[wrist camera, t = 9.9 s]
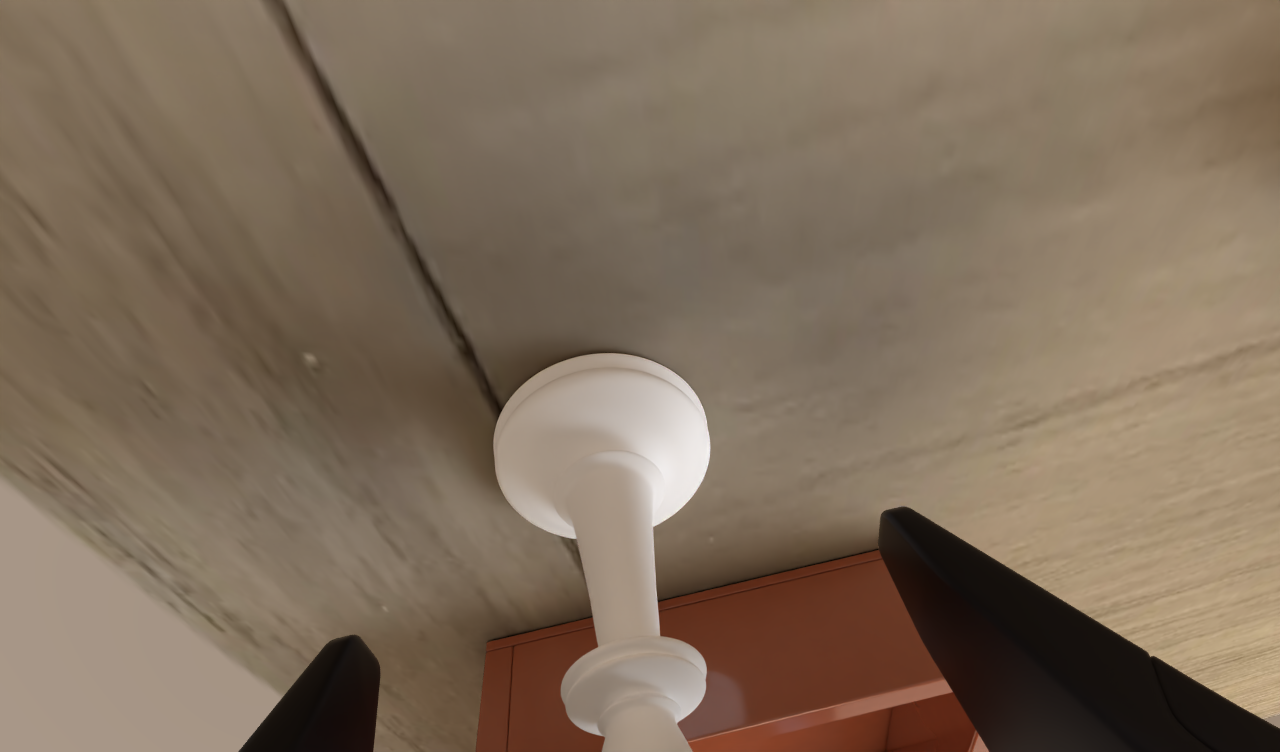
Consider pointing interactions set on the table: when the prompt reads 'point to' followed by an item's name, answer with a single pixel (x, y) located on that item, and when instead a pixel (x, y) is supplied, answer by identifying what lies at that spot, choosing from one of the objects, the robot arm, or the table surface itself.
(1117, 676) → the robot arm
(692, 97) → the table surface
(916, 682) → the open box
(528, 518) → the chess piece
